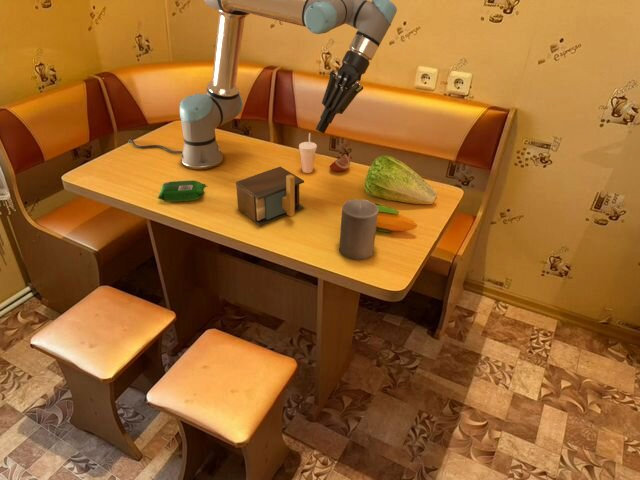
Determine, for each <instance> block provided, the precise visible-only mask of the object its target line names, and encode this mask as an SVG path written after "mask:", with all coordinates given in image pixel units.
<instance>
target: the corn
mask: <svg viewBox="0 0 640 480" xmlns="http://www.w3.org/2000/svg"><path fill="white" fill-rule="evenodd" d="M374 204H375V205H376V206H377V207H378V217H377V225H376V232H384V233H390V231H391V232H393V231H395V232H403V231H410V230H415V229H416V228H417V227H418V224H417V223H416V222H415V221H414V220H413V219H411V218H409V217H407V216H405V215H403V214H400V211H398V210H396V209H395V208H391V207H389V206H388V207H387V206H385V205H381V204H378V203H374Z"/></svg>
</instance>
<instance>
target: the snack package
mask: <svg viewBox="0 0 640 480" xmlns="http://www.w3.org/2000/svg"><path fill="white" fill-rule="evenodd" d="M206 187H208V185H206V183H203V182H200V181H198V180H177V181H176V180H173V181H166V182H164V183H163V184H162V185H161V187H160V192H159V194H158V195H157V199H159V200H162V201H164V202H166V203H177V202H188V201H190V202H191V201H197V200H199V199H200V198H201V197H202V196H204V195H205V188H206Z"/></svg>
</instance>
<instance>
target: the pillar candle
mask: <svg viewBox="0 0 640 480" xmlns="http://www.w3.org/2000/svg"><path fill="white" fill-rule="evenodd" d="M375 204H376V203H375V202H372V201H370V200H368V199H357V198H356V199H350V200H347V201H345V202H344V203H343V204H342V206H341V217H340V233H339V234H340V235H339V236H340V237H339V247H338V251H339V253H340V254H341V256H343V257H345V258H347V259H350V260H355V261H358V260H365V259H369V258H370V257H372V255H373V253H374V249H375V241H376V240H375V239H376V233H377V230H376V229H377V228H376V225H377V217H378V207H377V206H376V205H375Z"/></svg>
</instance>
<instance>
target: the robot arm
mask: <svg viewBox="0 0 640 480" xmlns="http://www.w3.org/2000/svg"><path fill="white" fill-rule="evenodd" d="M203 2H204V3H205V4H206V5H207V6H208V7H210V8H211V9H214V10H217V12H218V17H217V18H218V20H217V28H216V39H215V47H214V57H213V67H212V77H211V80H209V82H208V83H207V84H206V93H195V94H191V95H188V96H186V97H184V98H183V99H182V100H181V101H180V103H179V117H180V118H179V119H180V125H181V130H182V137H183V147H182V150H171V149H169V148H167V147H165V146H164V145H159V144H148V145H138V144H136V143H135V142H134V140H133V139H131V138H130V139H129V140H128V143H131V144H132V145H133V146H134V148H138V149H149V148H159V149H163V150H165V151H166V152H168V153H170V154H181V164H182V166H183V167H185V168H187V169H189V170H193V171H194V170H195V171H204V170H205V171H206V170H211V169H214V168H216V167H219V166H220V165H221V164H222V163H223V161H224V157H223V153H222V151H221V146H220V145H219V144H218V142H217V138H216V129H217V128H219V127H221V126H223V125H225V124H227V123H229V122H231V121H233V120H234V119H235V118H236V117H238V116H239V115H240V114H241V112H242V109H243V103H244V102H243V97H242V96H241V95H242V94H241V93H240V89H239V87H238V85H237V79H238V78H237V77H238V71H239V65H240V57H241V49H242V42H243V37H244V27H245V21H246V18H247V17H248V16H249V15H250V14H251V15H254V16H258V17H263V18H266V19H272V20H275V21H279V22H284V23H288V24H293V25H296V26H300V27H305V28H307V30H309V32H311V34H314V35H322V34H326V33H329V32H330V31H332V30H334V29H337V28H339V27H341V26H343V25H345V24H346V25H347V26H350V27H352V28H354V29H357V31H356V32H355V35H354V37H353V39H352V40H351V42H350V44H349V45H348V49H349V50H347V51H346V53H345V54H344V56H343V58H342V59H341V63H342V64H341V66H340V67H339V68H338V69H337V71H333V70H331V71H330V72H329V78H328V79H329V80H328V83H327V85H326V88H325V91H324V95H323V98H322V101H321V104H322V105H323V106H324V109H323V111H322V113H321V115H320V118H319V121H318V123H317V125H316V127H315V130H316V131H317V132H320V133H322V134H325V133H326V131H327V130H328V127H329V125H331V124H332V122H333V121H334V118H335V117H336V116H337V114H338V115H342V114H344V113H345V112H346V110H347V108H348V107H349V106H350V104H351V103H352V102H353V100H354V99H355V98H356V96H358V94H359V93H361V92H362V91H363V90H364V86H363V85H362V84H361V80H362V76H363V75H364V74H365V73H366V72H367V70H368V68H369V66H370V64H371V63H370V61H372V60H373V58H374V56H375V55H376V53H377V51H378V49H379V47H380V45H381V43H382V41H383V39H384V38H385V36H386V35H387V32H388V30H390V27H392V22H393V20H394V19H395V16H396V15H397V12H398V8H397V5H396V4H395V3H394V2H393V1H391V0H371V1H370V0H203Z"/></svg>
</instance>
